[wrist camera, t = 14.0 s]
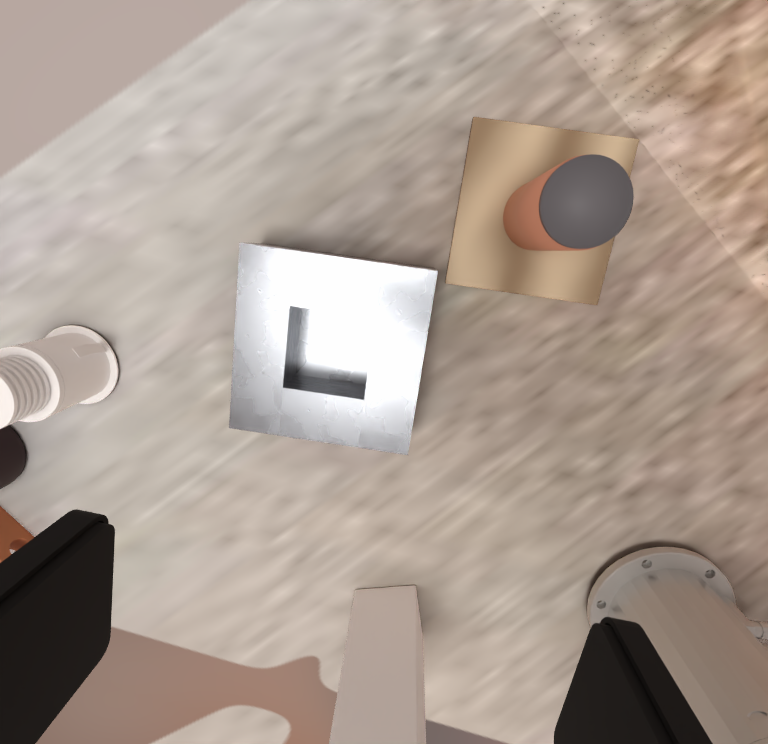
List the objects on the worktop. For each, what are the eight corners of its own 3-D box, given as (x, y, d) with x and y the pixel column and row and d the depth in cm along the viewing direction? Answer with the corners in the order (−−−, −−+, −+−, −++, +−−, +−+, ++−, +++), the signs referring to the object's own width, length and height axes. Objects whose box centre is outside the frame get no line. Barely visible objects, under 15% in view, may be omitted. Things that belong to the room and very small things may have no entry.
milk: (354, 588, 46) (302, 883, 24) (416, 583, 45) (419, 881, 24) (363, 640, 47) (321, 962, 26) (424, 636, 46) (432, 962, 25)
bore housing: (434, 268, 38) (438, 271, 33) (408, 431, 41) (407, 455, 36) (261, 243, 38) (239, 242, 33) (250, 407, 41) (229, 427, 37)
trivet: (635, 141, 34) (639, 139, 34) (594, 304, 38) (597, 305, 37) (472, 118, 35) (473, 116, 34) (444, 282, 38) (445, 283, 37)
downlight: (88, 306, 40) (-14, 323, 30) (140, 374, 41) (58, 412, 32) (22, 354, 41) (-96, 386, 32) (74, 418, 43) (-24, 468, 33)
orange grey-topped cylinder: (577, 186, 35) (647, 159, 25) (561, 254, 36) (621, 256, 26) (510, 176, 35) (551, 145, 25) (497, 245, 36) (530, 243, 26)
